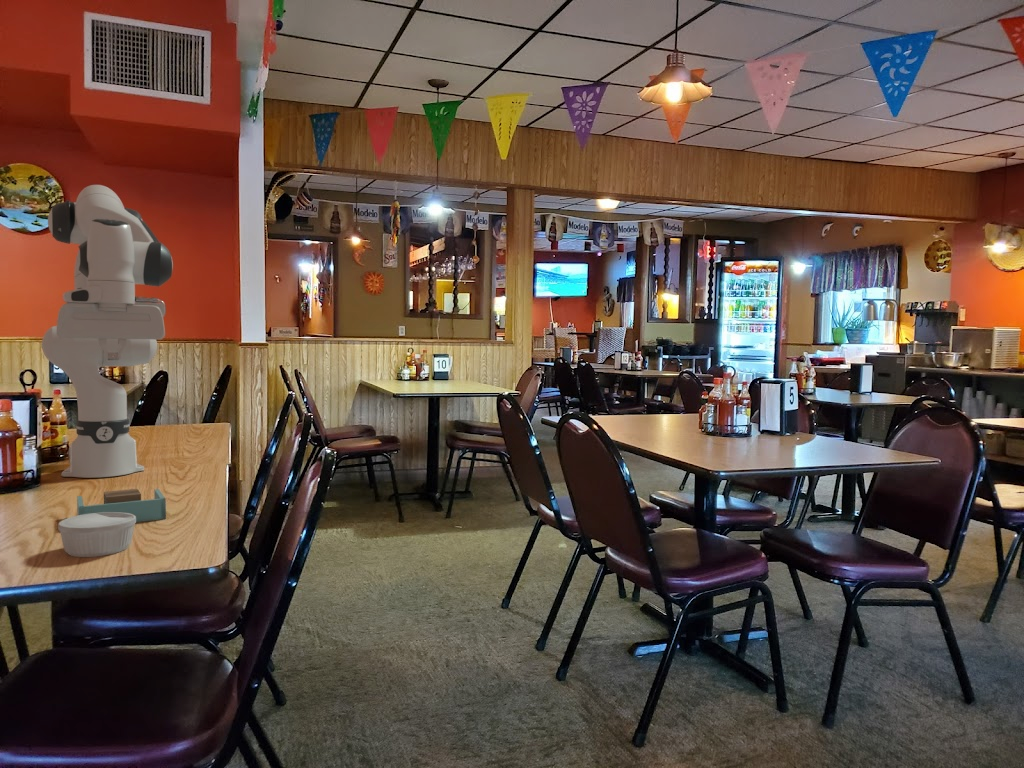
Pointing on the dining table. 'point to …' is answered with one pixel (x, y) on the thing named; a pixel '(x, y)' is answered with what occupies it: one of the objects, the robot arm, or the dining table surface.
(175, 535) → the dining table surface
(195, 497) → the dining table surface
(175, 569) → the dining table surface
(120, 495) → the walnut tile block
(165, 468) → the dining table surface
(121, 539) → the ramekin
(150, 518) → the box
